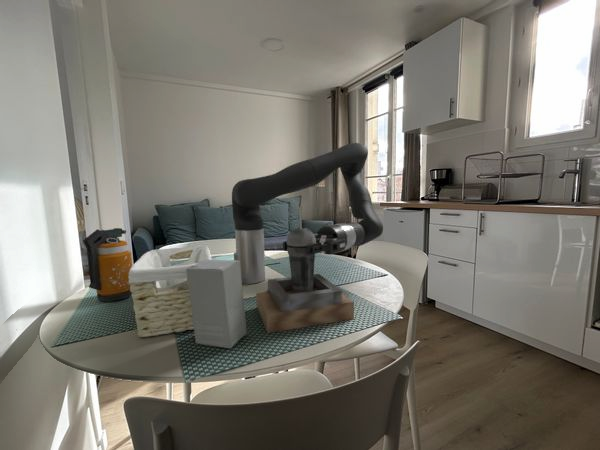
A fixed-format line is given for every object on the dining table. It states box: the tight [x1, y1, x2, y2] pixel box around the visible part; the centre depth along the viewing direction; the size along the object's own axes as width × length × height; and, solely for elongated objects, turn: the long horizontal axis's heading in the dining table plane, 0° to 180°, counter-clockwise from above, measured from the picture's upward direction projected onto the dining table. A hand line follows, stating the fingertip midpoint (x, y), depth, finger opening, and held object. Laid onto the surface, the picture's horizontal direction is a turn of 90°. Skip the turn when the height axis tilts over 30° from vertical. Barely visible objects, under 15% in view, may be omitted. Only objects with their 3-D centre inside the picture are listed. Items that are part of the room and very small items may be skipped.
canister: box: [82, 227, 133, 303], centre depth 80 cm, size 9×11×20 cm
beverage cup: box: [286, 208, 316, 294], centre depth 67 cm, size 7×7×20 cm
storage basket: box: [129, 245, 213, 338], centre depth 69 cm, size 24×16×15 cm
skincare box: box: [186, 259, 248, 349], centre depth 56 cm, size 8×7×16 cm
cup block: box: [255, 273, 355, 334], centre depth 69 cm, size 20×14×7 cm
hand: (295, 248), depth 65 cm, fingers closed on beverage cup, 7 cm apart
